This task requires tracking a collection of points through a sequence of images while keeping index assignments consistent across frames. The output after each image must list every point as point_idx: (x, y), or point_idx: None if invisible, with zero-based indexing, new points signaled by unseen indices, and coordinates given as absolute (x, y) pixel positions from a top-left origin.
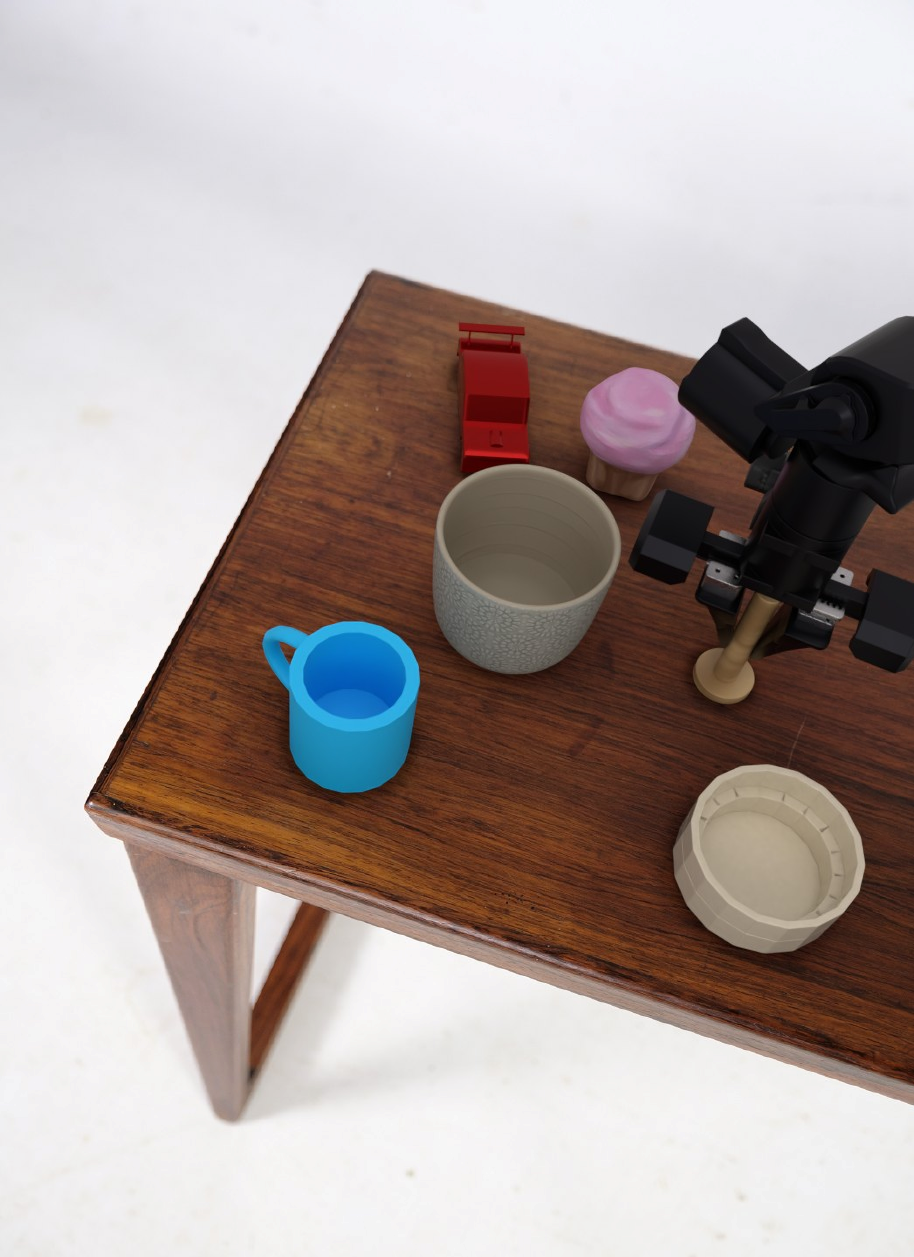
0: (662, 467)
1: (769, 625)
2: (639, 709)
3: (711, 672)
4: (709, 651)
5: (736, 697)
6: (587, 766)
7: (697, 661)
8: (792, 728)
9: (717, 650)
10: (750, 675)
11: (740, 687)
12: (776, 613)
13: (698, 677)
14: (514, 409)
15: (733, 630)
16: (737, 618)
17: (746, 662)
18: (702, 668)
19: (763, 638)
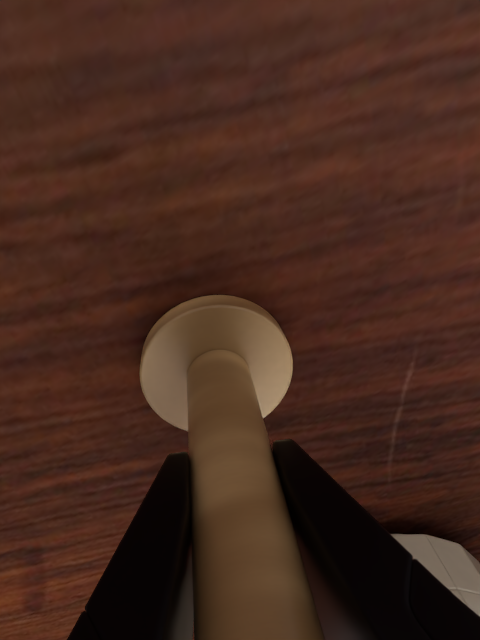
0: None
1: (329, 586)
2: (88, 502)
3: (186, 390)
4: (156, 342)
5: (263, 416)
6: (70, 610)
7: (141, 382)
8: (391, 386)
9: (175, 329)
10: (279, 350)
11: (265, 391)
12: (359, 618)
13: (163, 417)
14: None
15: (190, 577)
16: (183, 551)
17: (259, 322)
18: (161, 392)
19: (314, 597)
